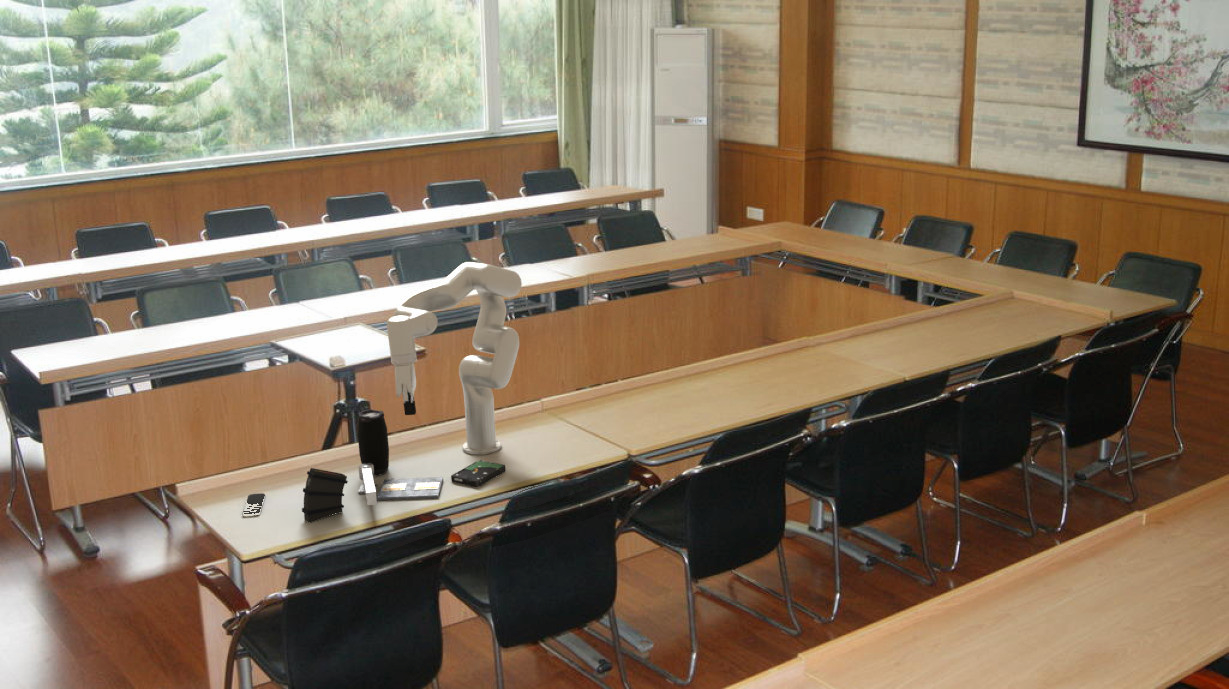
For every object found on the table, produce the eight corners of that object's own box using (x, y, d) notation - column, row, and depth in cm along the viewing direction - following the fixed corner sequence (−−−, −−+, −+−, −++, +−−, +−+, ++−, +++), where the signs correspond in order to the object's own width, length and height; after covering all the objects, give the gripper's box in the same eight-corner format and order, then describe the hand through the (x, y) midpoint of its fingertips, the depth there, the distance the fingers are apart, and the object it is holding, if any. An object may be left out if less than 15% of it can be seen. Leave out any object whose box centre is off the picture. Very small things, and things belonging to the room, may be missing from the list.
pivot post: (361, 487, 365) (360, 475, 364) (377, 486, 365) (376, 475, 364) (358, 494, 360) (357, 482, 359) (375, 493, 360) (374, 481, 359)
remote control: (260, 518, 347) (265, 496, 361) (259, 513, 346) (265, 491, 360) (242, 520, 346) (249, 498, 360) (241, 514, 346) (248, 492, 360)
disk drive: (478, 490, 362) (506, 472, 375) (477, 481, 362) (505, 464, 374) (450, 483, 367) (479, 466, 380) (450, 475, 367) (479, 458, 379)
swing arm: (373, 473, 364) (372, 462, 363) (379, 503, 342) (378, 491, 341) (359, 475, 363) (358, 464, 362) (364, 505, 341) (363, 493, 340)
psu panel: (384, 482, 368) (384, 478, 368) (443, 480, 369) (442, 476, 368) (377, 500, 355) (376, 496, 355) (438, 498, 355) (437, 494, 355)
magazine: (292, 517, 341) (308, 467, 341) (332, 523, 350) (348, 474, 350) (298, 521, 338) (314, 470, 338) (338, 527, 347) (354, 478, 347)
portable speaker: (395, 468, 379) (391, 410, 373) (377, 479, 371) (372, 419, 366) (374, 464, 383) (369, 406, 377) (355, 474, 375) (350, 415, 369)
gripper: (394, 349, 364) (401, 405, 370) (387, 366, 350) (394, 424, 356) (419, 348, 364) (425, 404, 370) (413, 364, 350) (420, 422, 356)
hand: (410, 413), depth 363 cm, fingers closed
